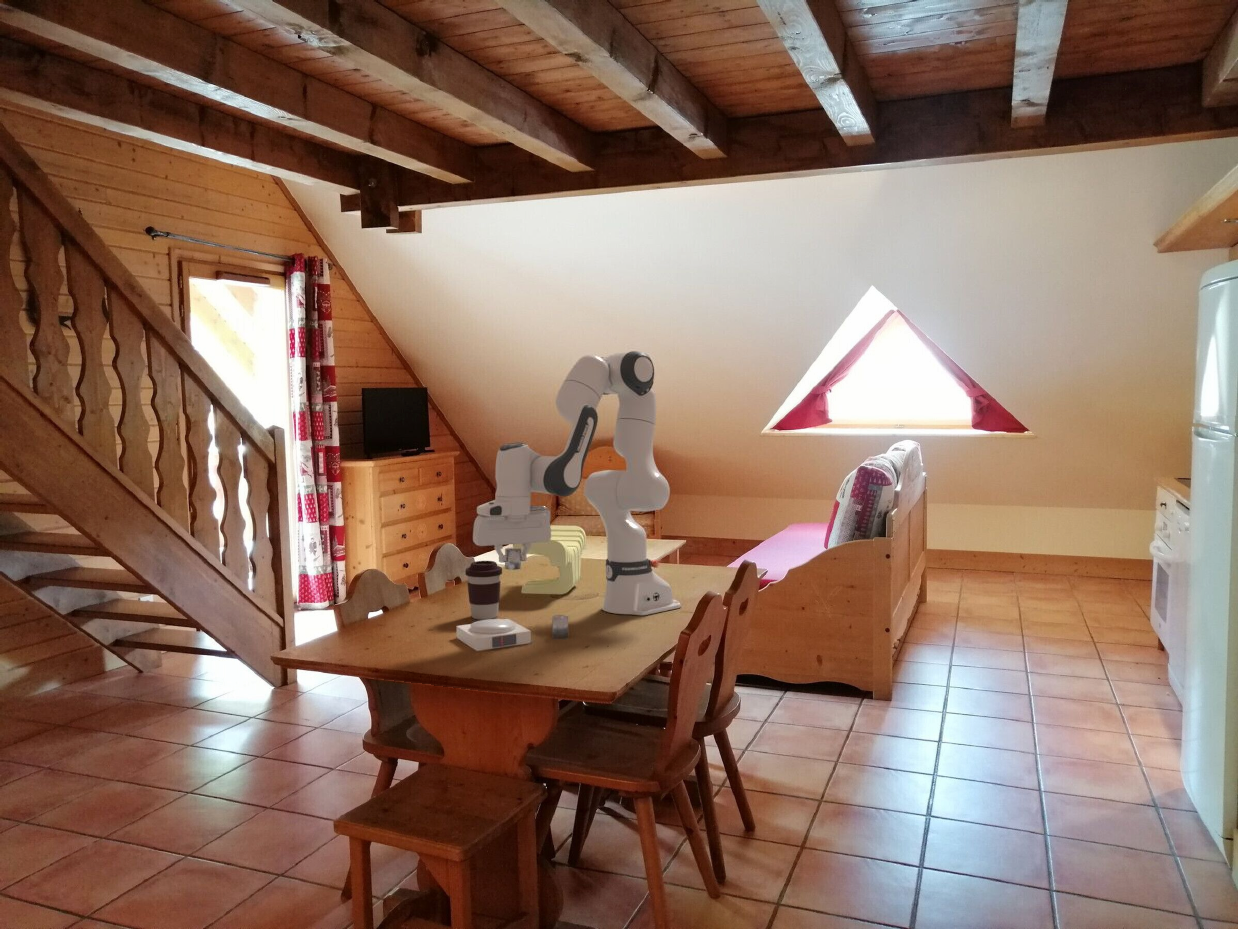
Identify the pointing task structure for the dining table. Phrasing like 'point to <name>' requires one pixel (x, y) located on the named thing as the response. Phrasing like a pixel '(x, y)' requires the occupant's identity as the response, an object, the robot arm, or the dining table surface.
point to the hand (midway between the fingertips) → (512, 561)
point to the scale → (493, 634)
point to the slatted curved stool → (558, 559)
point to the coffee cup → (484, 589)
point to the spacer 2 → (560, 626)
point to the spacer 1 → (513, 558)
